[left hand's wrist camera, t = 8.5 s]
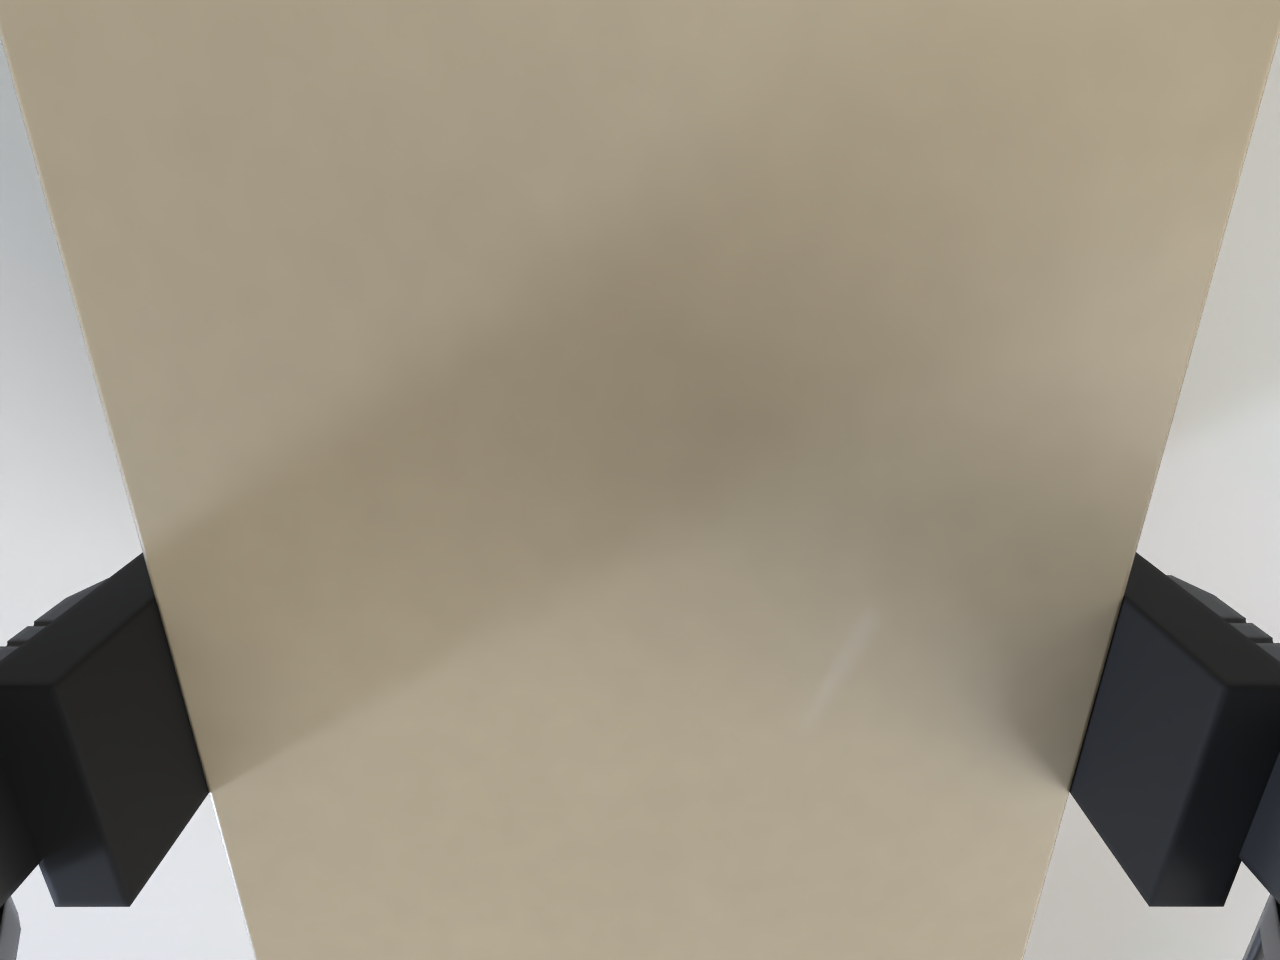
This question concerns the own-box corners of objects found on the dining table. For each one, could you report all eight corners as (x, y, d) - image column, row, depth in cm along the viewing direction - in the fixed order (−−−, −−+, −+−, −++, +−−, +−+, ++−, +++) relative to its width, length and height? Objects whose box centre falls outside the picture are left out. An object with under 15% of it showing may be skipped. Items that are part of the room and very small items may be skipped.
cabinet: (307, -407, 12) (-536, -1874, 3) (971, -405, 12) (1813, -1858, 3) (429, 607, 19) (255, 973, 10) (848, 607, 19) (1022, 973, 10)
